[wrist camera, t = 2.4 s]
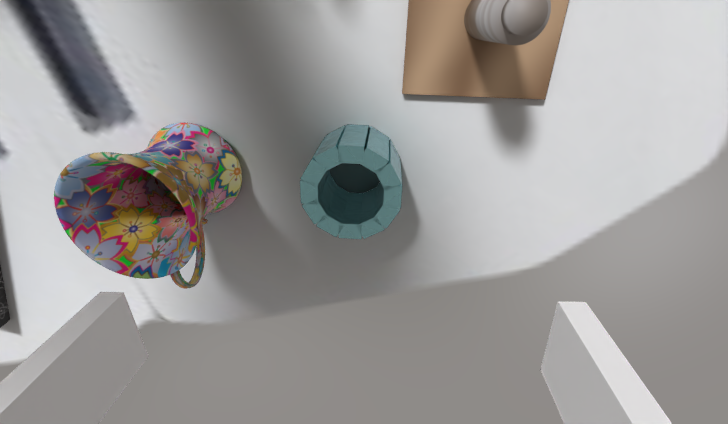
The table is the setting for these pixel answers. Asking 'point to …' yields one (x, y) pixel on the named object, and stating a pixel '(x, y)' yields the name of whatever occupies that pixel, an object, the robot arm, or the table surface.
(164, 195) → the mug
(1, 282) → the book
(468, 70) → the peg on square base
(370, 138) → the teal slatted pot
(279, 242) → the table surface
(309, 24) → the table surface
